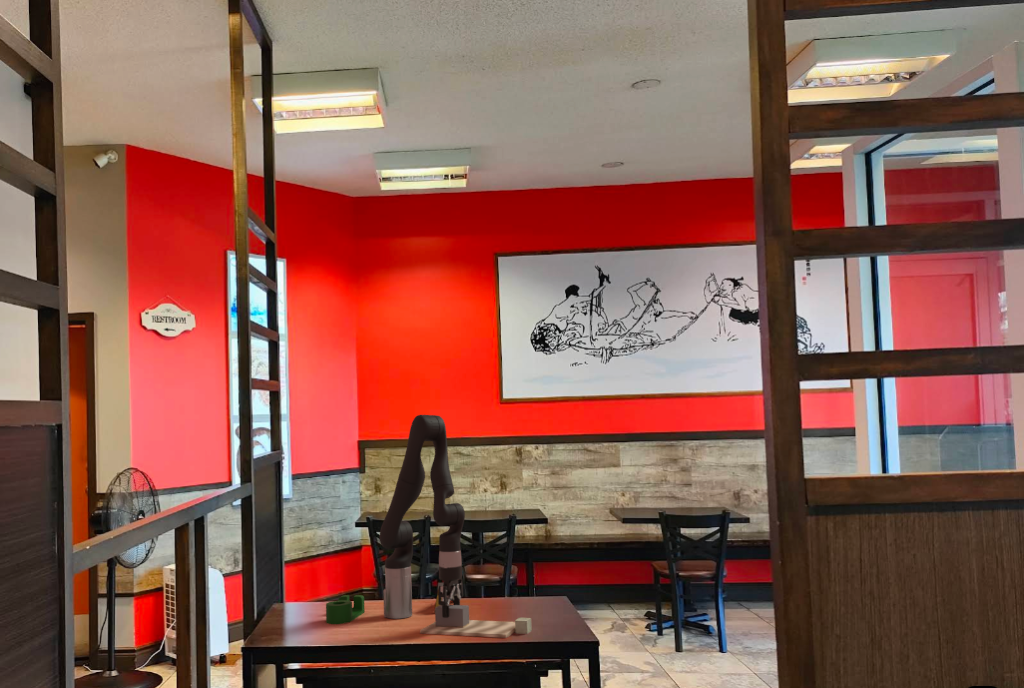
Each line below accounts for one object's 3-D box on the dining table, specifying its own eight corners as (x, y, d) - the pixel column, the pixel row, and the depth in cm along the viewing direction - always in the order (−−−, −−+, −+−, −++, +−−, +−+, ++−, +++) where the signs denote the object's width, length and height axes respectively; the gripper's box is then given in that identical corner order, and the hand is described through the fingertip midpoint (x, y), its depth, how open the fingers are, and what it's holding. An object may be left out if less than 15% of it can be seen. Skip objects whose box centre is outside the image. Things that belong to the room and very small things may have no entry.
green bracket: (346, 624, 274) (346, 605, 275) (322, 624, 275) (321, 605, 276) (364, 612, 292) (364, 595, 292) (341, 613, 293) (341, 595, 294)
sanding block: (435, 626, 261) (435, 607, 262) (442, 622, 266) (441, 604, 266) (463, 627, 258) (462, 608, 258) (469, 624, 262) (468, 605, 263)
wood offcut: (515, 633, 252) (515, 620, 252) (519, 630, 255) (519, 617, 256) (527, 634, 250) (526, 621, 251) (531, 631, 254) (531, 618, 255)
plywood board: (420, 633, 257) (419, 630, 257) (441, 621, 272) (441, 618, 272) (506, 637, 246) (506, 634, 246) (523, 625, 261) (523, 622, 261)
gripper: (449, 560, 272) (450, 609, 270) (430, 567, 258) (431, 618, 257) (469, 561, 269) (470, 610, 267) (451, 568, 256) (452, 620, 254)
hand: (451, 614), depth 262 cm, fingers open, 8 cm apart
